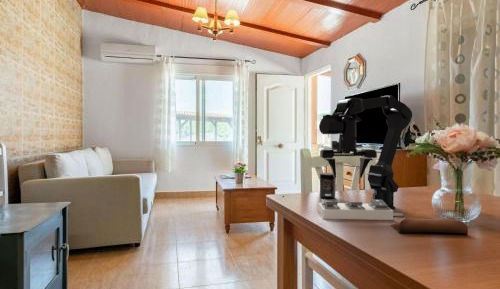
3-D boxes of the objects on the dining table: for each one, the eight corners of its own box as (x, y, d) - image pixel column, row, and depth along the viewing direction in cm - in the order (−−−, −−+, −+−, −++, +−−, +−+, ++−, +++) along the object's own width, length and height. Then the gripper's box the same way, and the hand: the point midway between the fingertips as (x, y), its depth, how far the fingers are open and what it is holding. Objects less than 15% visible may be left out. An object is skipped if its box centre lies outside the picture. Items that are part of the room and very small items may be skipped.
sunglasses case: (450, 226, 91) (457, 209, 88) (462, 245, 85) (471, 228, 82) (387, 225, 92) (392, 208, 89) (395, 244, 86) (401, 227, 83)
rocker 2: (381, 202, 105) (381, 199, 105) (387, 208, 100) (387, 205, 99) (370, 201, 105) (371, 199, 105) (376, 208, 100) (376, 205, 100)
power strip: (396, 212, 108) (396, 202, 108) (409, 220, 98) (409, 209, 98) (318, 211, 109) (318, 201, 109) (323, 218, 99) (323, 207, 99)
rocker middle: (357, 204, 105) (357, 201, 105) (362, 205, 100) (362, 202, 100) (347, 204, 105) (347, 201, 105) (351, 204, 100) (351, 201, 100)
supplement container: (333, 196, 137) (333, 173, 137) (337, 199, 130) (337, 174, 130) (318, 196, 137) (318, 172, 137) (321, 199, 131) (321, 174, 130)
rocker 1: (334, 204, 106) (334, 201, 106) (337, 204, 100) (337, 201, 101) (323, 203, 106) (323, 201, 106) (326, 204, 101) (326, 201, 101)
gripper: (367, 134, 117) (367, 174, 117) (317, 134, 118) (317, 174, 119) (377, 133, 106) (377, 179, 106) (322, 134, 107) (322, 179, 108)
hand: (347, 177), depth 110 cm, fingers open, 9 cm apart
